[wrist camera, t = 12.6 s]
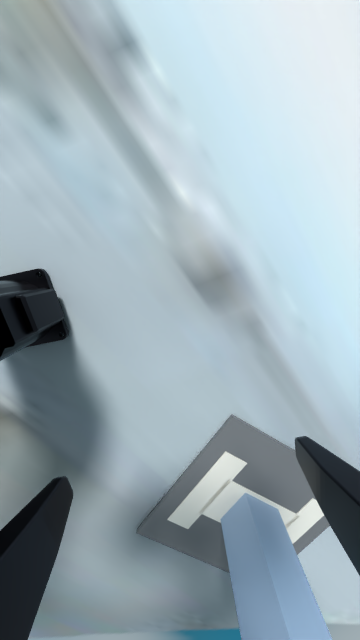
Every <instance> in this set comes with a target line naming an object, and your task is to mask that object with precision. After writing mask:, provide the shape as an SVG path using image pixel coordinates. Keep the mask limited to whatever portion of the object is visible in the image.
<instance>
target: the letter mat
mask: <svg viewBox="0 0 360 640" xmlns="http://www.w3.org/2000/svg"><path fill="white" fill-rule="evenodd" d="M245 493H247V494H249V495H251V496H253V497H255V498H257V499H259V500H261V501H263V502H265V503H267V504H269V505H271V506H273V507H275V508H277V509H278V510H279V513H280V515H281V518H282V520H283V522H284V525H285V527H286V530H287V532H288V534H289V537H290V539H291V542H292V544H293V546H294V549H295V551H296V554H297V555H298V554H299V553H300V552H301V551H302V550H303V549H304V548H305V547H306V546H308V545H309V544H310V543H311V542H312V541H313V540H314V539H315V538H316V537H318V536H319V535H320V534H321V533H322V532H323V531H324V530H325V529H326V528H328V527H329V526H330V524H329V522H328V521H327V519H326V517H325V516H324V514H323V512H322V510H321V508H320V506H319V504H318V502H317V500H316V498H315V496H314V494H313V492H312V490H311V488H310V486H309V484H308V482H307V480H306V477H305V475H304V473H303V471H302V469H301V467H300V465H299V463H298V461H297V458H296V451H295V450H293V449H291V448H290V447H288V446H286V445H284V444H283V443H281V442H279V441H277V440H276V439H274V438H272V437H270V436H269V435H267V434H265V433H263V432H262V431H260V430H258V429H256V428H255V427H253V426H251V425H249V424H248V423H246V422H244V421H242V420H241V419H239V418H237V417H235V416H234V415H231V416H230V417H229V418H228V420H227V421H226V422H225V423H224V424H223V426H222V427H221V428H220V429H219V430H218V432H217V433H216V434H215V435H214V437H213V438H212V439H211V440H210V441H209V443H208V444H207V445H206V446H205V447H204V449H203V450H202V451H201V452H200V454H199V455H198V456H197V457H196V458H195V460H194V461H193V462H192V463H191V464H190V466H189V467H188V468H187V469H186V470H185V472H184V473H183V474H182V475H181V477H180V478H179V479H178V480H177V481H176V483H175V484H174V485H173V486H172V487H171V489H170V490H169V491H168V492H167V494H166V495H165V496H164V497H163V498H162V500H161V501H160V502H159V503H158V504H157V506H156V507H155V508H154V509H153V511H152V512H151V513H150V514H149V515H148V517H147V518H146V519H145V520H144V521H143V523H142V524H141V525H140V526H139V527H138V529H137V533H138V534H140V535H142V536H145V537H147V538H149V539H152V540H154V541H156V542H159V543H161V544H163V545H166V546H168V547H170V548H173V549H175V550H177V551H180V552H182V553H184V554H187V555H189V556H191V557H194V558H196V559H198V560H201V561H203V562H205V563H208V564H210V565H212V566H215V567H217V568H219V569H222V570H224V571H226V572H229V573H230V571H229V565H228V559H227V554H226V548H225V542H224V537H223V531H222V525H221V520H220V519H221V518H222V517H223V516H224V515H225V514H226V513H227V512H228V510H229V509H230V508H231V507H232V506H233V505H234V504H235V503H236V502H237V501H238V500H239V499H240V498H241V497H242V496H243V495H244V494H245Z"/></svg>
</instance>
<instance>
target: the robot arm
mask: <svg viewBox="0 0 360 640" xmlns="http://www.w3.org/2000/svg"><path fill="white" fill-rule="evenodd" d="M39 272H41V273H42V277H40V276H39ZM61 332H63V333H64V336H63V335H61ZM68 335H69V332H68V329H67V327H66V324H65V321H64V314H63V311H62V309H61V306H60V303H59V300H58V297H57V295H56V292H55V291H54V290H53V288H52V285H51V282H50V279H49V277H48V274H47V272H46V271H45V270H44V269H34V270H30V271H25V272H20V273H16V274H11V275H7V276H2V277H0V361H1V360H3V359H5V358H6V357H8V356H10V355H12V354H14V353H15V352H17V351H19V350H21V349H23V348H25V347H29V346H34V345H39V344H44V343H48V342H53V341H58V340H63V339H65V338H67V337H68ZM295 450H296V458H297V461H298V463H299V465H300V467H301V469H302V471H303V473H304V475H305V477H306V480H307V482H308V484H309V486H310V488H311V490H312V492H313V494H314V496H315V498H316V500H317V502H318V504H319V506H320V508H321V510H322V512H323V514H324V516H325V517H326V519H327V521H328V522H329V524H330V526H331V528H332V529H333V531H334V533H335V534H336V536H337V538H338V539H339V541H340V543H341V545H342V546H343V548H344V550H345V551H346V553H347V555H348V556H349V558H350V560H351V562H352V563H353V565H354V567H355V568H356V570H357V572H358V573H359V575H360V471H359V470H357V469H356V468H354V467H353V466H351V465H349V464H348V463H346V462H345V461H343V460H342V459H340V458H339V457H337V456H336V455H334V454H333V453H331V452H330V451H328V450H327V449H325V448H324V447H322V446H321V445H319V444H318V443H316V442H315V441H313V440H312V439H310V438H309V437H307V436H302V437H297V438H295ZM72 499H73V490H72V488H71V485H70V483H69V481H68V478H67V477H66V476H62V477H57V478H54V479H53V480H52V481H51V482H50V483H49V484H48V485H47V486H46V487H45V488H44V489H43V490H42V491H41V492H40V493H39V494H38V495H37V496H36V497H35V498H34V499H32V500H31V501H30V502H29V503H28V504H27V505H26V506H25V507H24V508H23V509H22V510H21V511H20V512H19V513H18V514H17V515H16V516H15V517H14V518H13V519H12V520H11V521H10V522H9V523H8V524H7V525H6V526H5V527H4V528H3V529H2V530H1V531H0V640H28V637H29V634H30V631H31V628H32V625H33V623H34V620H35V617H36V614H37V611H38V608H39V605H40V603H41V600H42V597H43V594H44V591H45V588H46V585H47V582H48V580H49V577H50V574H51V571H52V568H53V565H54V562H55V560H56V556H57V553H58V550H59V547H60V544H61V540H62V537H63V533H64V529H65V525H66V522H67V518H68V514H69V510H70V507H71V503H72Z"/></svg>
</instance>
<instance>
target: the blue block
mask: <svg viewBox="0 0 360 640" xmlns="http://www.w3.org/2000/svg"><path fill="white" fill-rule="evenodd" d="M220 520H221V525H222V531H223V537H224V542H225V548H226V554H227V559H228V565H229V571H230V577H231V582H232V588H233V594H234V599H235V605H236V611H237V617H238V622H239V628H240V633H241V639H242V640H332V638H331V635H330V633H329V630H328V628H327V626H326V623H325V621H324V618H323V616H322V614H321V611H320V609H319V606H318V604H317V602H316V599H315V597H314V594H313V592H312V590H311V587H310V585H309V582H308V580H307V578H306V575H305V573H304V570H303V568H302V566H301V563H300V561H299V558H298V556H297V554H296V551H295V549H294V546H293V544H292V542H291V539H290V537H289V534H288V532H287V530H286V527H285V525H284V522H283V520H282V518H281V515H280V513H279V510H278V509H277V508H275V507H273V506H271V505H269V504H267V503H265V502H263V501H261V500H259V499H257V498H255V497H253V496H251V495H249V494H247V493H245V494H244V495H243V496H242V497H241V498H240V499H239V500H238V501H237V502H236V503H235V504H234V505H233V506H232V507H231V508H230V509H229V510H228V512H227V513H226V514H225V515H224V516H223V517H222V518H221V519H220Z"/></svg>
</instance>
